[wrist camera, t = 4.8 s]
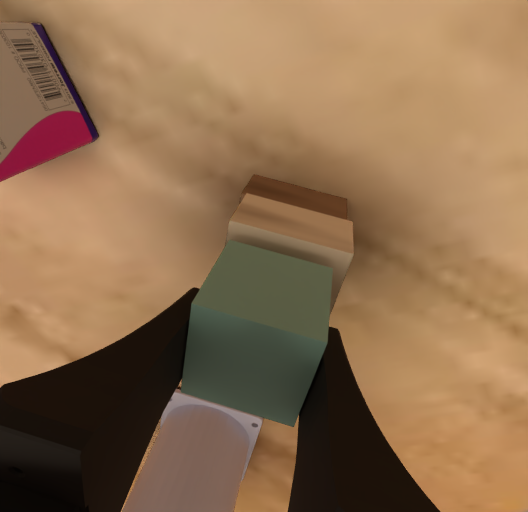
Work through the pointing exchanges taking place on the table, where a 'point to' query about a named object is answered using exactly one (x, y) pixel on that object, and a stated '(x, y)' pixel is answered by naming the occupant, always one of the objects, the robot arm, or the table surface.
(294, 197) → the tower base block
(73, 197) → the table surface
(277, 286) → the teal cube
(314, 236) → the tower top block
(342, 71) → the table surface
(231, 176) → the table surface
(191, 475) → the robot arm
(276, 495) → the table surface
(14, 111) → the supplement box
